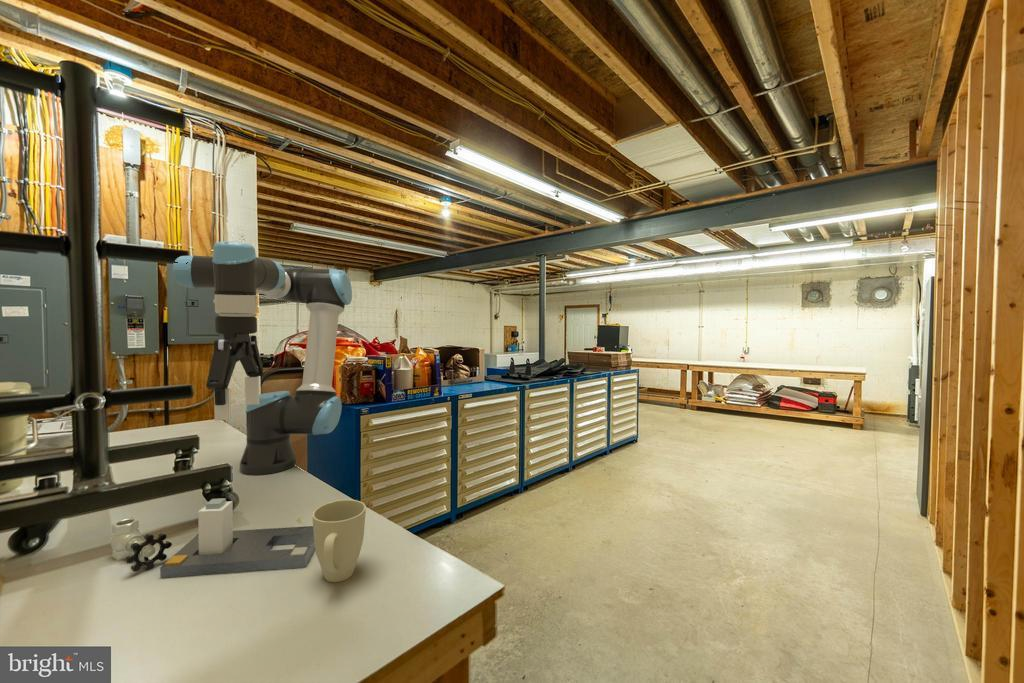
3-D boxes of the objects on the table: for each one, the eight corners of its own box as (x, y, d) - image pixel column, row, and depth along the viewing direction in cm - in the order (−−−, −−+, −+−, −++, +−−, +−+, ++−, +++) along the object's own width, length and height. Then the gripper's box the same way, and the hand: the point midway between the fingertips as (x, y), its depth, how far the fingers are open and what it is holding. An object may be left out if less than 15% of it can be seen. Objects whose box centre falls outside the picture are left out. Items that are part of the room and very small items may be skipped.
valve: (98, 560, 77) (127, 580, 72) (97, 526, 77) (126, 543, 71) (142, 544, 83) (172, 561, 77) (141, 512, 83) (171, 527, 77)
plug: (210, 551, 81) (210, 497, 80) (232, 550, 81) (232, 496, 81) (198, 563, 77) (198, 506, 76) (222, 561, 77) (221, 505, 77)
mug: (298, 576, 73) (298, 512, 73) (350, 554, 81) (351, 495, 80) (325, 605, 66) (326, 533, 66) (380, 577, 74) (381, 513, 73)
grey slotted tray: (199, 542, 84) (199, 531, 84) (323, 534, 88) (323, 524, 88) (160, 578, 72) (160, 565, 72) (305, 567, 76) (305, 555, 76)
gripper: (243, 313, 99) (246, 399, 101) (181, 316, 75) (185, 428, 77) (277, 314, 101) (278, 398, 102) (226, 317, 76) (229, 427, 78)
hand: (238, 411), depth 89 cm, fingers open, 13 cm apart
